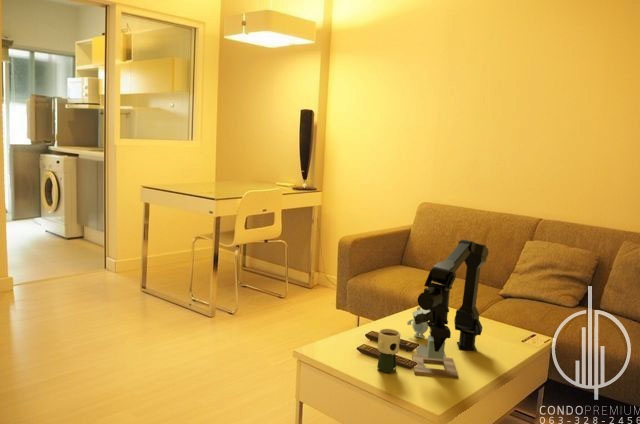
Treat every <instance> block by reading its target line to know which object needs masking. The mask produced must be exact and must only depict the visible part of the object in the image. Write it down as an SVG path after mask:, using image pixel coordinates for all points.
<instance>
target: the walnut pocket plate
mask: <svg viewBox="0 0 640 424" xmlns="http://www.w3.org/2000/svg"><path fill="white" fill-rule="evenodd" d="M411 359H412V360H413V361H414V362H416V363H417V366H414V368H413V373H414V375H421V376H432V377H441V378H442V377H443V378H449V379H450V378H452V379H459V374H458V371H457V367H456V364H455V361H454V358H453V357H447V356H446V357H443V359H435V358H428V356H426V355H417V353H416V354H415V353H414V354H413V353H412V354H411ZM413 361H412V362H413ZM425 363H429V364H442V365H443V367H444V369H442V368H441V369H440V368H434V367H433V368H431V367H425Z"/></svg>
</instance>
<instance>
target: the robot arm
mask: <svg viewBox="0 0 640 424" xmlns="http://www.w3.org/2000/svg"><path fill="white" fill-rule="evenodd" d="M489 251H490V250H489V248H488V247H487V245H486V244H482V243H477V242H475V241H472V240H468V239H459V241H458V245H457V246H455V248H454V249H453V251H451V253H450V254H449V255H447V257H446V259H444V260H442V261H439V262H436V263H435V264H434V265H433V266H432V268H431V269H430V271H429V273H428V275H427V278H426V280H425V283H424V287H425V288H424V289H423V292H421V293H420V294H418V297H417V304H418V307H420V310H418V311H417V310H415V311H412V316H413V319H414V321H415V324H416V325H418V324H420V323H424V322H427V324H428V328H429V331H428V333H429V334H430V335H431V336H432V337H433V338H434V348H435V352H438V351H439V349H440V348H441V346H442V345H443V343H444V341H445V342H446V340H447V339H451V335H452V334H451V330H450V329H451V328H450V327H448V324H449V321H448V313H450V308H449V304H450V295H451V294H450V293H451V290H452V289H453V284H454V282H455V280H456V278H457V274H456V272H457V270H458V269H459V268H460V267H461V265H462V264H463V263H464V264H465V265H466V270H465V280H464V286H463V287H464V288H463V294H462V302H461V303H462V304H461V305H460V307H459V308H458V309H456V311H455V316H454V330H455V331H459V339H458V340H459V341H456V345H457V348H458V349H459V350H462V351H470V352H471V351H473V352H477V350H478V349H477V347H476V338H477V336H481V335H482V332H483V325H482V322H481V321H480V313H479V311H478V309H477V306H476V305H477V298H478V291H479V290H478V289H479V281H480V274H481V268H482V267H483V265H484V264H485V263H486V262H487V258H488V256H489Z"/></svg>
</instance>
